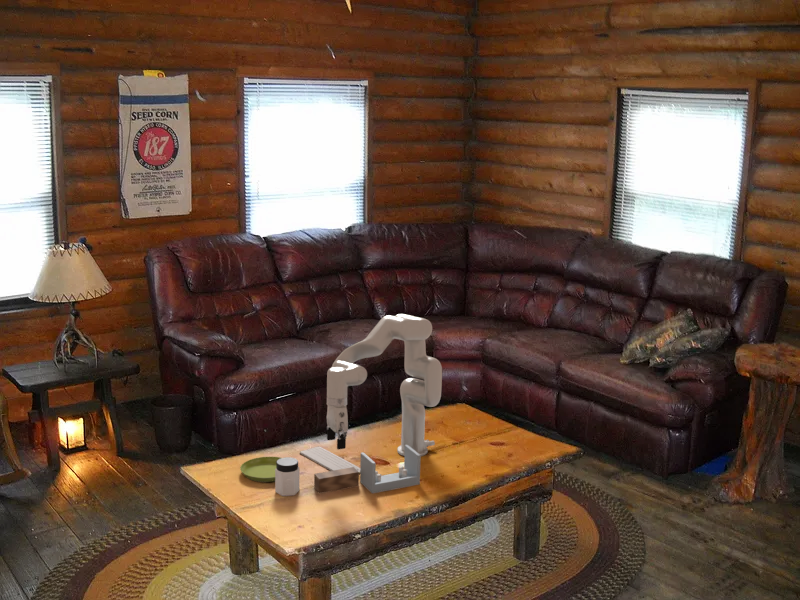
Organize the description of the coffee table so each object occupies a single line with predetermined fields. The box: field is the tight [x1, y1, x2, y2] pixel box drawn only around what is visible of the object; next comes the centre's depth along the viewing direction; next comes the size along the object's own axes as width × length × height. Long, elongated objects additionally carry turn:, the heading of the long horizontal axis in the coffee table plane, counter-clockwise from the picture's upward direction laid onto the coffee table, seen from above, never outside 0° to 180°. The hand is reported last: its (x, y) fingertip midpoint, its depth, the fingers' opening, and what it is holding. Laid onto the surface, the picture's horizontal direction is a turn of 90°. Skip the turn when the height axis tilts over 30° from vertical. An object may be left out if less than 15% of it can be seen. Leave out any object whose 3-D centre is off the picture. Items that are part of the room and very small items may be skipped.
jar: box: [274, 456, 300, 497], centre depth 340 cm, size 9×8×12 cm
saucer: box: [239, 456, 281, 483], centre depth 356 cm, size 21×21×3 cm
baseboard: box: [299, 446, 360, 475], centre depth 369 cm, size 31×3×12 cm
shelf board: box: [313, 467, 360, 494], centre depth 346 cm, size 16×5×6 cm, turn 116°
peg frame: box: [359, 445, 422, 494], centre depth 349 cm, size 20×11×12 cm, turn 116°
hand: (336, 444), depth 342 cm, fingers open, 9 cm apart
